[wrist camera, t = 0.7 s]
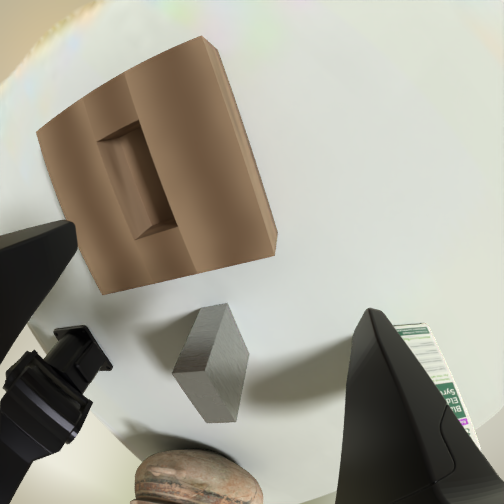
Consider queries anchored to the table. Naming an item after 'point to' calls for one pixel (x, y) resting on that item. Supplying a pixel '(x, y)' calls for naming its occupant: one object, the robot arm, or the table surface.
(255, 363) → the table surface
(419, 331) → the syrup box
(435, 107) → the table surface
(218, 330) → the upright grey stone slab
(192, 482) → the cooking pot
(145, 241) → the post block
